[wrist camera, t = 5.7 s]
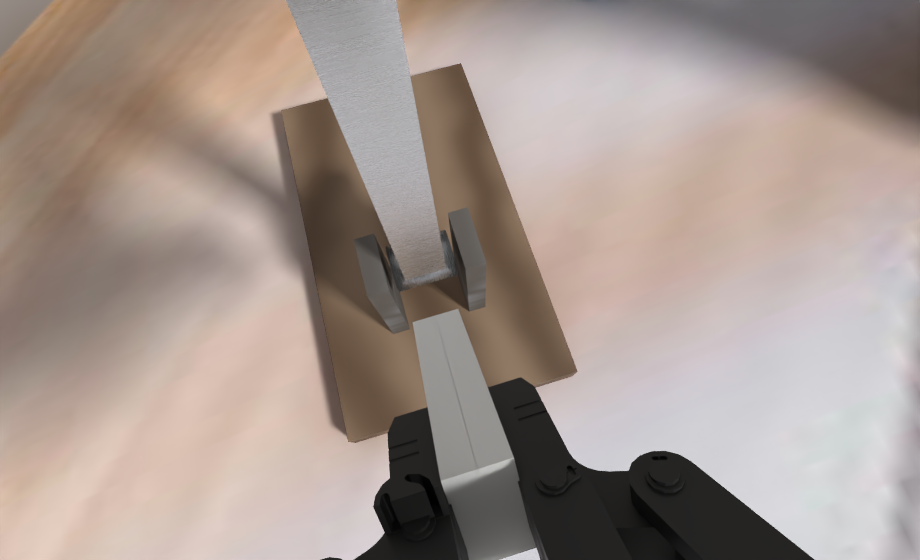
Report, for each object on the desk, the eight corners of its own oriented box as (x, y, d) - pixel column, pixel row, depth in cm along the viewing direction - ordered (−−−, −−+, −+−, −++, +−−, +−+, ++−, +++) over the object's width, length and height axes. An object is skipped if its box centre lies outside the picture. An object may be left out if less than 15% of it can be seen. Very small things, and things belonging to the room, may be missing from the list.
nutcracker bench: (461, 79, 45) (456, -28, 35) (572, 376, 35) (607, 343, 25) (289, 125, 44) (234, 28, 34) (355, 442, 34) (304, 436, 24)
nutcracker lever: (427, 181, 32) (300, -470, 10) (460, 287, 30) (393, -265, 7) (374, 195, 32) (118, -436, 9) (403, 304, 30) (143, -210, 7)
